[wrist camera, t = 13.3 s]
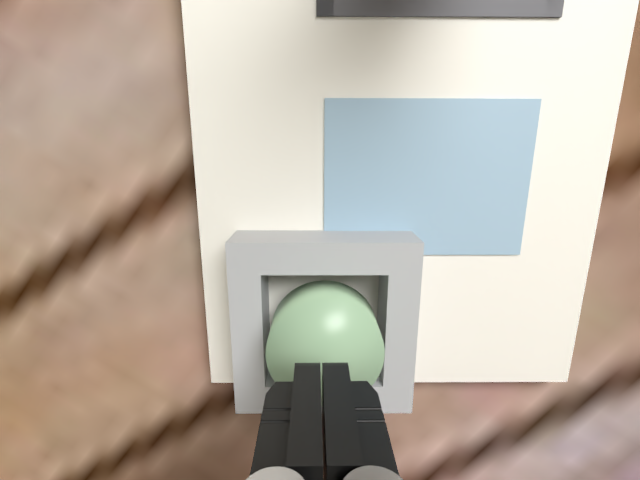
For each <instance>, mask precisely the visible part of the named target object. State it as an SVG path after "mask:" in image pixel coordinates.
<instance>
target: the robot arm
mask: <svg viewBox="0 0 640 480" xmlns="http://www.w3.org/2000/svg"><path fill="white" fill-rule="evenodd" d="M246 480H403V479H402V478H401V477H400V475H399V473H398V470H397V466H396V462H395V458H394V454H393V450H392V446H391V442H390V438H389V435H388V431H387V427H386V423H385V419H384V415H383V411H382V407H381V403H380V399H379V396H378V393H377V391H376V390H375V389H374V388H373V387H372V386H371V385H370V384H369V382H368V381H351V379H350V373H349V366H348V362H337V363H322V405H321V372H320V363H295V367H294V378H293V381H291V382H275V383H274V384H273V385H272V387H271V388H270V389H269V390H268V392H267V393H266V395H265V400H264V405H263V411H262V416H261V422H260V426H259V431H258V436H257V442H256V447H255V452H254V457H253V462H252V468H251V473H250V476H249V477H248V478H247V479H246Z"/></svg>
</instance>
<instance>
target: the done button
mask: <svg viewBox="0 0 640 480" xmlns="http://www.w3.org/2000/svg"><path fill="white" fill-rule="evenodd" d="M384 357H385V348H384V342H383V339H382V336H381V333H380V330H379V327H378V324H377V321H376V318H375V315H374V312H373V309H372V307H371V305H370V304H369V302H368V301H367V300H366V299H365V297H364V296H363V295H362V294H361V293H359V292H358V291H357V290H355V289H354V288H352V287H350V286H348V285H346V284H343V283H340V282H336V281H328V280H321V281H313V282H309V283H306V284H303V285H301V286H299V287H297V288H295V289H294V290H292V291H291V292H290V293H288V294H287V295H286V296H285V297H284V298H283V299H282V301H281V302H280V303H279V305H278V307H277V309H276V311H275V313H274V316H273V320H272V324H271V328H270V332H269V336H268V340H267V345H266V363H267V367H268V370H269V372H270V375H271V377H272V378H273V380H274V382H291V381H293V378H294V367H295V363H320V372H321V405H322V363H337V362H348V366H349V373H350V379H351V381H368V382H369V384H370V385H371V386H372V385H373V384H374V383H375V381H376V380H377V378H378V376H379V375H380V372H381V370H382V367H383V363H384Z"/></svg>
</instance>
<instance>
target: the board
mask: <svg viewBox="0 0 640 480" xmlns="http://www.w3.org/2000/svg"><path fill="white" fill-rule="evenodd" d="M638 4H639V0H181V5H182V18H183V31H184V43H185V56H186V68H187V81H188V94H189V106H190V119H191V132H192V144H193V157H194V170H195V182H196V195H197V207H198V220H199V233H200V245H201V258H202V271H203V283H204V296H205V308H206V321H207V334H208V346H209V359H210V372H211V383H234V396H235V412H236V414H262V411H263V405H264V400H265V395H266V393H267V392H268V390H269V389H270V388H271V387H272V385H273V384H274V383H275V382H274V380H273V378H272V377H271V375H270V372H269V370H268V367H267V363H266V345H267V340H268V336H269V332H270V328H271V324H272V320H273V316H274V313H275V311H276V309H277V307H278V305H279V303H280V302H281V301H282V299H283V298H284V297H285V296H286V295H287V294H288V293H290V292H291V291H292V290H294V289H295V288H297V287H299V286H301V285H303V284H306V283H309V282H313V281H321V280H328V281H336V282H340V283H343V284H346V285H348V286H350V287H352V288H354V289H355V290H357V291H358V292H359V293H361V294H362V295H363V296H364V297H365V299H366V300H367V301H368V302H369V304H370V305H371V307H372V309H373V312H374V315H375V318H376V321H377V324H378V327H379V330H380V333H381V336H382V339H383V342H384V348H385V357H384V363H383V367H382V370H381V372H380V375H379V376H378V378H377V380H376V381H375V383H374V384H373V385H372V387H373V388H374V389H375V390H376V391H377V393H378V396H379V399H380V403H381V407H382V411H383V413H412V405H413V391H414V382H567V380H568V375H569V370H570V365H571V359H572V354H573V349H574V343H575V338H576V333H577V327H578V322H579V317H580V311H581V306H582V301H583V296H584V290H585V285H586V280H587V274H588V269H589V264H590V258H591V253H592V248H593V242H594V237H595V232H596V227H597V221H598V216H599V211H600V205H601V200H602V195H603V189H604V184H605V179H606V173H607V168H608V163H609V158H610V152H611V147H612V142H613V136H614V131H615V126H616V120H617V115H618V110H619V105H620V99H621V94H622V89H623V83H624V78H625V73H626V67H627V62H628V57H629V51H630V46H631V41H632V36H633V30H634V25H635V20H636V14H637V9H638Z"/></svg>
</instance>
